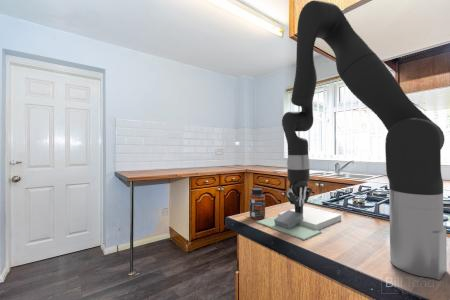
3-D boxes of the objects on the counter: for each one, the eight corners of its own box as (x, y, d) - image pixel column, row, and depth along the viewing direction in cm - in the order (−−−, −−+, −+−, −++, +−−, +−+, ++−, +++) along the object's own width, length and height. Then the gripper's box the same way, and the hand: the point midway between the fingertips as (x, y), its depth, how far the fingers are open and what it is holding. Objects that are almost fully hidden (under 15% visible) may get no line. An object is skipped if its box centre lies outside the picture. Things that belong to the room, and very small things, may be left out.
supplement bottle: (254, 220, 84) (253, 190, 84) (247, 216, 90) (246, 188, 90) (268, 218, 87) (267, 189, 86) (260, 214, 92) (259, 186, 92)
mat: (321, 232, 72) (321, 231, 72) (304, 240, 66) (304, 238, 66) (273, 217, 88) (273, 216, 88) (256, 222, 83) (256, 221, 83)
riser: (341, 220, 83) (341, 214, 83) (316, 230, 73) (315, 224, 73) (303, 210, 96) (303, 205, 96) (278, 218, 86) (277, 213, 86)
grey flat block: (303, 219, 78) (302, 213, 78) (289, 229, 74) (287, 224, 73) (289, 215, 83) (288, 210, 83) (275, 224, 79) (274, 219, 78)
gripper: (295, 169, 74) (296, 222, 74) (318, 166, 81) (319, 214, 82) (277, 168, 80) (278, 216, 80) (300, 165, 88) (301, 209, 88)
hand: (299, 215), depth 81 cm, fingers closed
